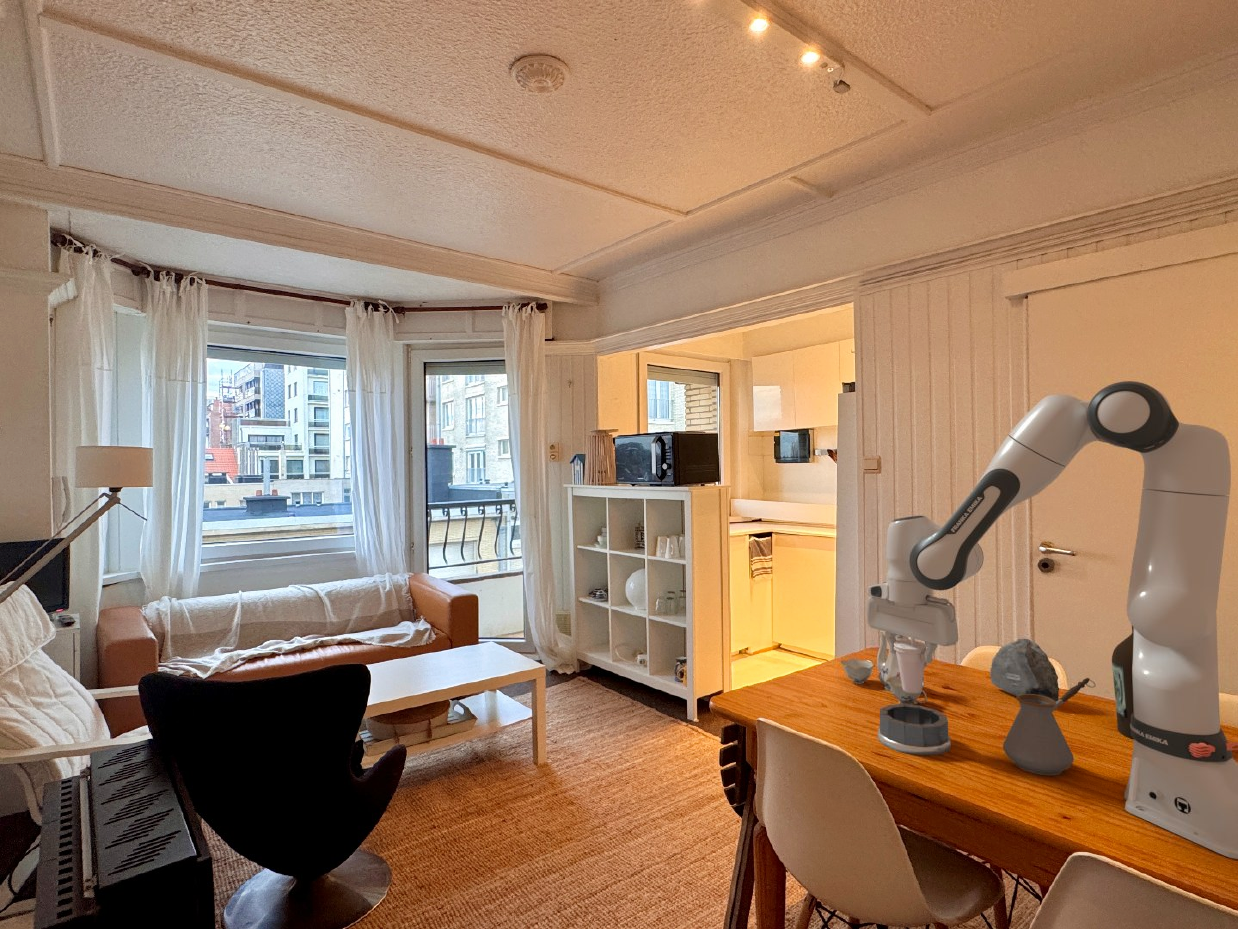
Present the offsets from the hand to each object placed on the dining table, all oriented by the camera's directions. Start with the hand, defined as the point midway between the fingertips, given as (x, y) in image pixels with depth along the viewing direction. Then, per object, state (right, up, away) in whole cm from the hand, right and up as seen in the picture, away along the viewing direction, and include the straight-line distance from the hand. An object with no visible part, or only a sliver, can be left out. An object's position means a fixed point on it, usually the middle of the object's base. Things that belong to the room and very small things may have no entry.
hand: (910, 657), depth 139 cm
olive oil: (+50, -17, 0) cm, 53 cm away
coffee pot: (+23, -17, -11) cm, 31 cm away
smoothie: (0, -7, 0) cm, 7 cm away
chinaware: (+9, -18, +32) cm, 38 cm away
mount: (0, -18, 0) cm, 18 cm away
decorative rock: (+38, -17, +24) cm, 49 cm away
